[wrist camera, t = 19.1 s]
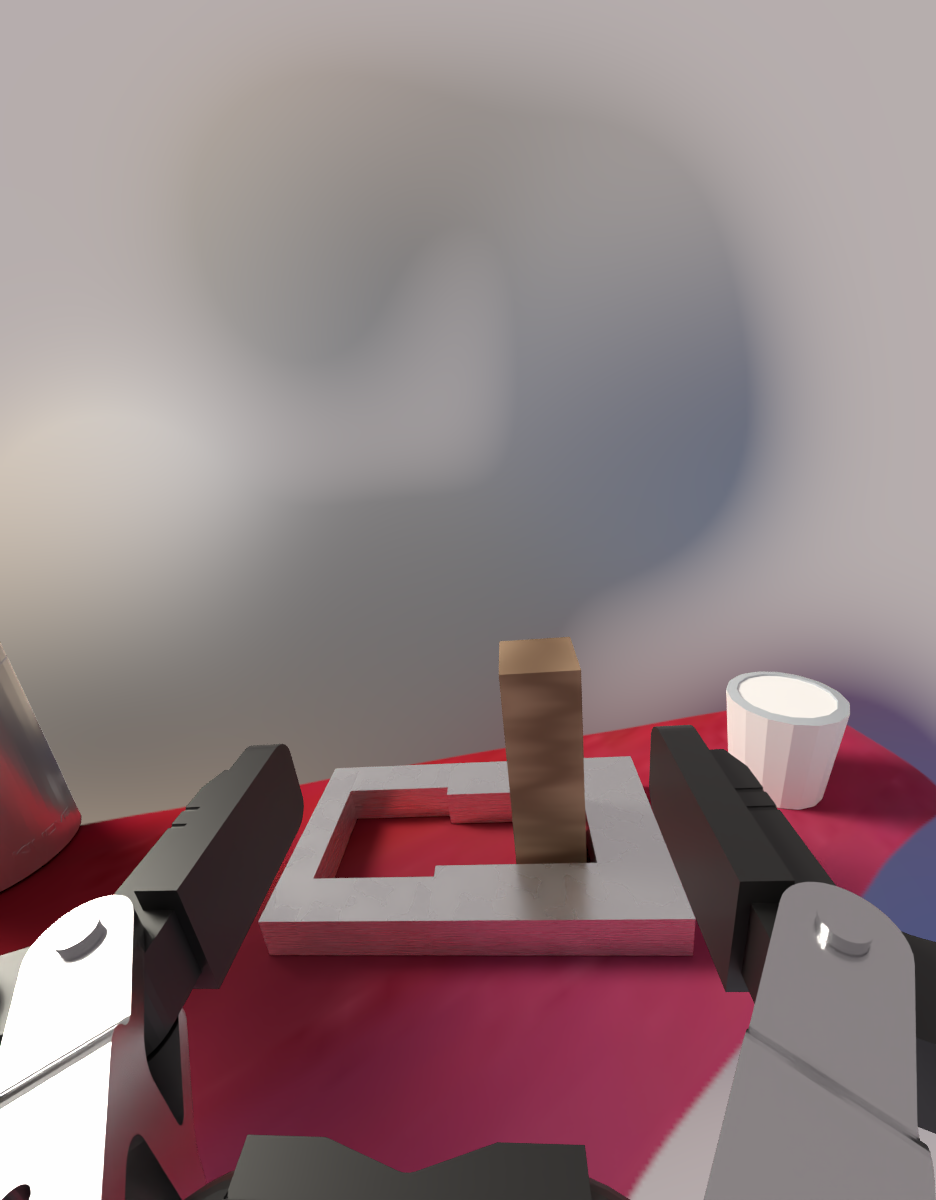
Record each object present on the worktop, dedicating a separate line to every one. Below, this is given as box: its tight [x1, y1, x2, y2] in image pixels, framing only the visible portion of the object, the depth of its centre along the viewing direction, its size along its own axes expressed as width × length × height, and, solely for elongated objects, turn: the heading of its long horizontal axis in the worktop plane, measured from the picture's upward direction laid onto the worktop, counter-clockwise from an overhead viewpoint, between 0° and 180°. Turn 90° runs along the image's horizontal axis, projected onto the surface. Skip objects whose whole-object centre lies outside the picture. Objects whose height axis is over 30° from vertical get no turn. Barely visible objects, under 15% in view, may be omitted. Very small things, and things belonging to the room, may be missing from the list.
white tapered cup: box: [726, 672, 850, 810], centre depth 32 cm, size 7×7×7 cm
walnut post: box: [499, 637, 587, 864], centre depth 27 cm, size 4×4×14 cm
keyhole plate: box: [258, 756, 696, 956], centre depth 29 cm, size 22×12×2 cm, turn 86°
